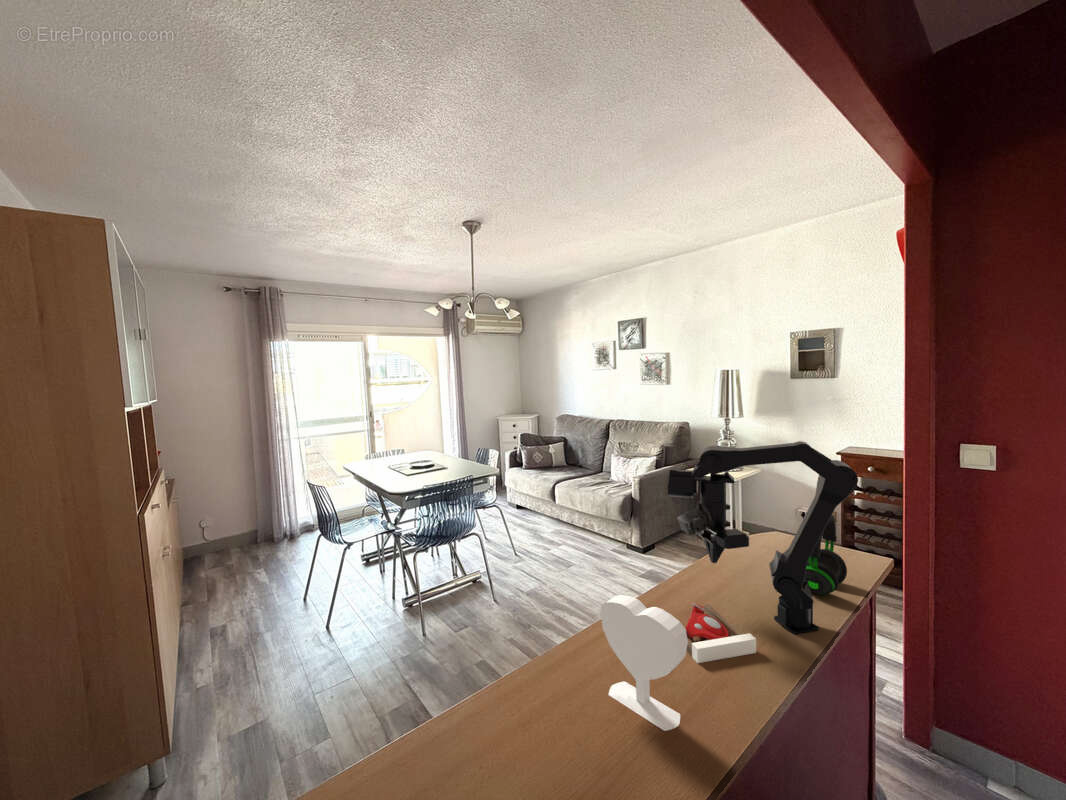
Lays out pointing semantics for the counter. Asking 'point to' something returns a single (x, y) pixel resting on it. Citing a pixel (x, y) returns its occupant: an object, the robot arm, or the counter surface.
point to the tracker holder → (704, 625)
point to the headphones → (825, 564)
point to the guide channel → (722, 642)
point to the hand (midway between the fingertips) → (713, 562)
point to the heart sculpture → (644, 653)
